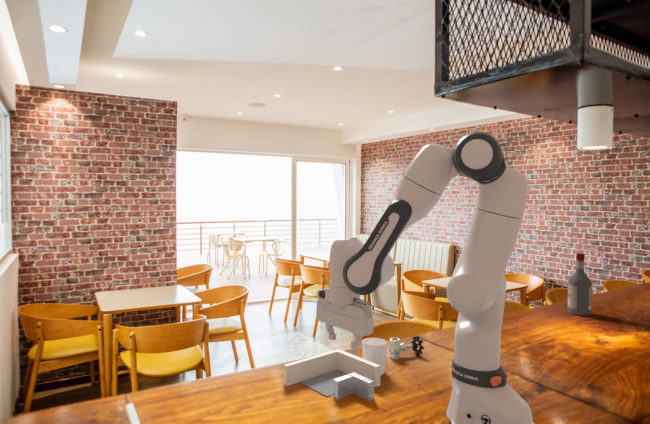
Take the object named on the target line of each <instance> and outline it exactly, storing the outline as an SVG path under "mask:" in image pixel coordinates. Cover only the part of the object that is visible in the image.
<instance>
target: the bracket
mask: <svg viewBox="0 0 650 424" xmlns="http://www.w3.org/2000/svg"><path fill="white" fill-rule="evenodd" d="M374 390H375V387H374V381H372V380H370V379H368V378H366V377H363V376H361V375H359V374H356V373H354V372H353V373H350V374H347V375H344V376H342V377H339V378H336V379H333V395H332V397H333V398H334V399H336V400H341V399H343V398H345V397H348V396H351V395H355V396H358V397H360V398H362V399H364V400H366V401H368V402H370V401H372V400H374V397H375V395H374V394H375V391H374Z"/></svg>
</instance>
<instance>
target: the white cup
mask: <svg viewBox="0 0 650 424" xmlns="http://www.w3.org/2000/svg"><path fill="white" fill-rule="evenodd" d="M387 344H388V343H387V340H386V339H383V338H381V337H366V338H362V339H361V349H362V350H361V351H362V352H361V353H362V354H361V355H362V356H361V357H362V358H363V359H365V360H368V361H370V362H373V363H375V364H378V365H381V376H383V375H384V374H385V370H386V369H385V368H386V366H385V365H386V358H387Z"/></svg>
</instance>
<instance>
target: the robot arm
mask: <svg viewBox="0 0 650 424" xmlns="http://www.w3.org/2000/svg"><path fill="white" fill-rule="evenodd" d="M503 153H504V152H503V150H502V147H501V144H500V143H499V142H498V140H497V139H496V138H495V137H494V136H493V135H491V134H489V133H486V132H483V131H474V132H473V131H472V132H470V133H468V134H465V135H464V136H462V137H461V138H460V139H459V140H458V141H457V143H456V144H455V146H453V147H447V146H445V145H442V144H439V143H428V144H426V145H424V146H423V147H422V148H421V149H420V150H419V151H418V153H417V154H416V155H415V156H414V157H413V159H412V161H410V163H409V165H408V166H407V168H406V170H405V171H404V173H403V175H402V176H401V178H400V181H399V183H398V185H397V186H396V188H395V191H394V193H393V194H392V197H391V199H390V201H389V202H388V204H387V206H386V209H385V210H384V212H383V213H382V216H381V217H380V219H379V221H378V222H377V223H376V225H375V227H374V229H373V230H372V231H371V233H370V235H369V236H368V238H367V239H366V241H365V242H364V243H363V242H362V241H361V240H360V238H357V237H345V238H341V239H340V238H339V239H336V240H334V241H333V242H332V244H331V246H330V251H329V264H328V270H329V274H330V277H329V281H328V287H326V288H322V289H318V290H317V291H316V297H317V300H316V310H315V311H316V312H315V313H316V318H317V320H318V322H321V323H324V324H325V329H326V331H327V333H328V340H331V341H336V340H337V333H336V332H335V329H334V327H336V328H338V329H341V330H344V331H346V332H350V333H353V337H354V340H353V341H351V342H350V345H351V346H350V347H351V349H354V350H358V349H359V348H360V342H362V340H363V337H367V336H371V335H372V334H373V332H374V329H375V328H374V327H375V326H374V314H373V310H372V309H373V308H372V307H373V306H372V305H371V304H370V303H369V301H368V300H365V299H361V296H367V295H370V294H372V293H373V292H375V291H376V290H377V289H378V288H380V287H382V286H384V285H385V284H387V283H388V282H390V281H391V279H393V277H394V274H395V270H396V269H395V268H396V267H395V262H394V260H393V258H392V257H391V256H390V253H391V251H392V249H394V246H395V244H396V243H397V241H398V240H399V238H400V236H401V235H403V233H405V231H406V230H407V229H408V228H409V227H411V226H412V225H414V224H415V223H417V222H419V221H421V220H422V219H424V218H425V217H427V215H428V214H430V212H431V211H432V210H433V209H434V207H435V206H436V205H437V204H438V202H439V200H440V199H441V197H442V195H443V193H444V191H445V189H446V188H447V186H448V185H449V184H450V182H451V181H452V180H453V179H454V178H456V177H457V176H461V177H466V178H467V179H471V180H473V181H475V182H476V183H477V184H478V187H479V191H478V192H479V193H478V198H477V201H476V205H475V208H474V212H473V215H472V220H471V224H470V227H469V231H468V234H467V237H466V240H465V243H464V245H463V247H462V250H461V252H460V254H459V257H458V259H457V262H456V265H455V267H454V269H453V273H452V274H451V275H452V276H451V277H450V279H449V281H448V284H447V286H446V289H445V290H446V298H447V301H448V303H449V304H450V305H451V307H452V308H453V309H454V310H455V311H457V312H458V315H457V318H456V319H457V321H456V324H455V327H454V333H453V334H454V337H453V339H454V341H453V342H454V343H453V359H452V361H451V378H452V385H451V386H452V387H451V393H450V399H449V403H448V406H447V409H446V411H445V412H446V413H445V415H446V417H447V418H448V420H449V421H450V424H536V423H534V421H533V419H534V418H533V414H532V410H531V407H530V405H529V403H528V402H526V400H524V399H523V398H522V397H521V396H520V395H519V394H518V392H516V390H514V388H513V387H512V386H510V384H509V383H508V380H507V379H508V378H509V377H510V376H511V371H510V370H508V371H506V372H505V371H504V369H503V367H502V365H501V342H502V341H501V339H502V338H501V337H502V336H501V335H502V329H503V319H504V312H505V305H506V304H505V303H506V293H507V292H506V291H507V278H506V275H505V271H506V268H507V266H508V263H509V261H510V258H511V257H512V254H513V252H514V249H515V246H516V243H517V238H518V235H519V231H520V228H521V225H522V221H523V218H524V214H525V210H526V204H527V199H528V198H527V197H528V189H529V183H528V182H529V181H528V179H527V177H526V176H525V174H524V173H522V172H521V171H519V170H517V169H515V168H511V167H508V166H507V164H506V161H505V158H504V154H503Z"/></svg>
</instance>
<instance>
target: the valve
mask: <svg viewBox="0 0 650 424" xmlns="http://www.w3.org/2000/svg"><path fill="white" fill-rule="evenodd" d="M422 344H423V340H422V339H420V336H419V335H417V336H413V337H412V341H411V343H407V344H406V343H404V342H401V341H400V338H399V337H390V338H389V345H388V351H389V358H390V359H392V360H399V359H400V353H403V352H404V353H405V352H406V350H411V349H412V351H413V352H414V353H415V355H422V354H423V350H424V349H425V347H424V346H423V345H422ZM418 348H419V349H418Z"/></svg>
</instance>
